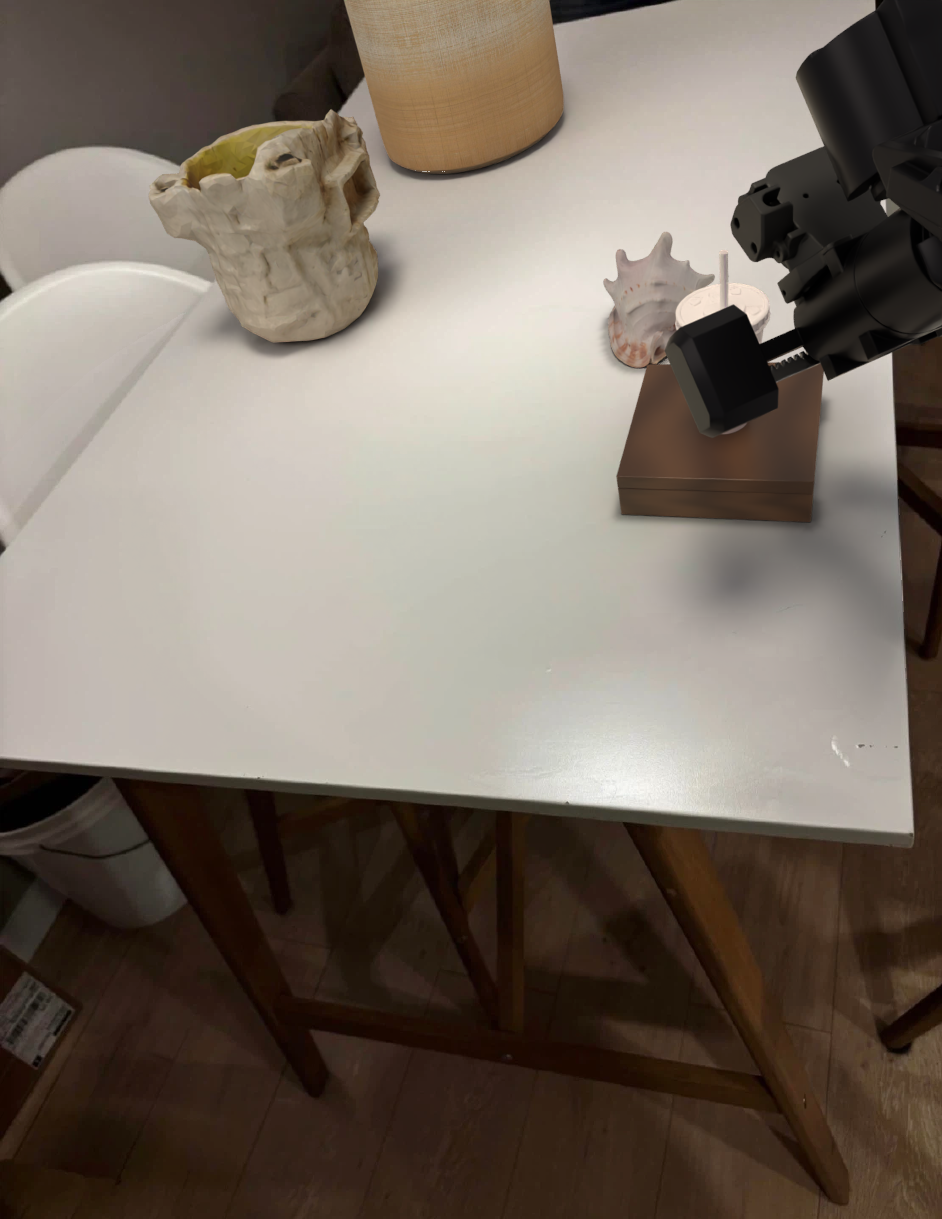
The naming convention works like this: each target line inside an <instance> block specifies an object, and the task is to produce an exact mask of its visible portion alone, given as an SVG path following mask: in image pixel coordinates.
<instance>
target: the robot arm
mask: <svg viewBox="0 0 942 1219" xmlns="http://www.w3.org/2000/svg"><path fill="white" fill-rule="evenodd" d="M795 81H796V82H797V85H798V87H799V90H800V92H801V95H802V97H803V100H804V102H805V105H806V106H807V109H808V111H809V113H810V116H811V118H812V121H813V123H814V126H815V128H816V130H817V133H818V135H819V137H820V139H821V142H822V144H823V146H821V147H818V148H816V149H813V150H811V151H809V152H806V153H804V154H802V155H799V156H797V157H794V158H792V159H789V160H787V161H785V162H782V163H780V164H777V165H775V166H773V167H772V168H770V169H768V171H767V173H766V174H765V177H763V178H761V179H759V180H757V181H754V182H752V183H751V184H750V187H749V190H748V191H747V192H746V193H744V194H742V195H739V196H738V198H737V205H736V206H735V208H734V211H733V214H732V217H731V221H730V226H729V227H730V230H731V235H732V236H733V238H734V240H735V241H736V242H737V244H738V245H739V247H740V248H741V249H742V251H743V252H744V254H745V255H746V257H747V258H748V260H749V261H751V262H752V263H759V262H762V261H763V260H766V259H772V260H774V261H775V262H776V263H777V264H780V265H782V266H783V267H784V268H785V269H787V270H788V273H787V274H786V275H785V276H784V277H782V278H781V279H780V280H779V281H778V282H777V283H776V284H777V286H778V289H779V291H780V293H781V296H782V298H783V301H784V303H785V304H787V305H788V304H791V303H793V302H794V305H795V307H794V309H793V316H792V317H793V319H792V320H793V326H794V328H793V329H791V330H788V331H786V332H783V333H782V334H779V335H776V336H774V337H772V338H770V339H768V340H765V341H762V343H761V344H759V342H758V339H757V337H756V335H755V332H754V330H753V328H752V325H751V323H750V321H749V318H748V316H747V314H746V313H745V312H743V311H742V310H741V309H739V308H738V307H737V306H735V305H734V304H733V305H731V306H729V307H726V308H724V309H722V310H719V311H717V312H715V313H712V314H710V315H708V316H705V317H703V318H701V319H698V320H696V321H694V322H691V323H689V324H687V325H685V326H682V327H680V328H679V329H678V330H677V331H676V332H675V333H674V334H673V335H672V336H670V337H669V340H668V342H667V345H666V348H665V350H664V351H665V353H666V356H665V357H666V358H667V360H668V364H670V365H671V367H672V370H673V372H674V374H675V376H676V379H677V381H678V383H679V386H680V388H681V390H682V393H683V395H684V397H685V400H686V402H687V404H688V406H689V409H690V411H691V413H692V416H693V418H694V420H695V423H696V425H697V427H698V430H699V432H700V433H701V434H704V435H706V436H709V437H711V438H714V437H716V436H718V435H721V434H723V433H725V432H727V431H730V430H732V429H734V428H736V427H739V426H741V425H743V424H745V423H748V422H750V421H752V420H754V419H756V418H758V417H761V416H763V415H765V414H767V413H769V412H771V411H773V410H775V409H777V408H778V395H779V388H778V386H777V384H776V383H777V382H780V381H782V380H784V379H786V378H789V377H791V376H793V375H795V374H798V373H800V372H802V371H804V370H807V369H809V368H811V367H814V366H816V365H818V364H821V366H822V368H823V371H824V376H825V377H826V380H827V381H828V382H829V381H832V380H833V379H836V378H838V377H840V376H842V375H845V374H847V373H849V372H851V371H853V370H856V369H859V368H860V367H862V366H866V365H867V364H870V363H872V362H873V361H876V360H878V359H881V358H883V357H885V356H887V355H890V354H892V353H894V352H896V351H899V350H901V349H903V348H905V347H908V346H913V345H914V346H918V345H922V344H924V343H926V342H929V341H932V340H933V339H936V338H941V337H942V0H883V1H882V2H881V3H880V4H879V6H878V7H877V8H876V9H875V10H873V11H871V12H870V13H869V14H867V15H865V16H864V17H862V18H860V19H858V20H857V21H855V22H854V23H852V24H851V25H850V26H848V27H847V28H845V29H844V30H843V31H841V32H840V33H839V34H837V35H835V37H834V38H832V39H831V40H830V41H829V42H827V43H826V44H824V46H823V47H820V48H818V49H816V50H814V51H811V53H809V54H808V55H807V56H806V58H805V59H804V60H803V61H802V63H801V64H800V66H799V67H798V69H797V71H796V75H795ZM888 199H889V200H890V201H891V202H892V203H893V204H895V205H896V206H897V207H899V208H897V209H896V210H894V211H893V212H892V213H891V214H890V215H888V214H887V212H886V210H885V208H884V206H882V204H881V202H882V201H886V200H888ZM801 348H803V350H802V351H800V352H799V353H796V354H794V355H793V356H789V357H787V358H784V359H782V360H781V361H776V362H777V363H775V367H774V366H773V365H770V366H769V365H768V362H772V361H773V360H776V359H778V358H781V357H783V356H785V355H788V354H790V353H792V352H795V351H797V350H799V349H801ZM779 362H781V364H780V363H779Z"/></svg>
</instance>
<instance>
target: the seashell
mask: <svg viewBox="0 0 942 1219" xmlns="http://www.w3.org/2000/svg"><path fill="white" fill-rule="evenodd" d="M673 242H674V240H673V236H672V234H671V233H670V232H668V231H663V232H662V233H661V235H660V236H659V238H658V240H657V242H656V243H655V245H654V247H653V248H652V249H651V251H650V253H649V254H648V255H647V256H645V257H643V258H640V259H637V260H629V259H628V256H627V253H626V251H625V250H624V249H622V248H618V249H617V250H616V251H615V263H616V272H617V277H616V279H615V280H610V279H608V278H604V279H603V282H602V283H603V287H604V289H605V291H606V292H607V293H608V295H609V296H610V298H611V299H612V301H613V304H614V306H613V307H612V310H611V311H610V312H609V314H608V318H607V326H608V327H607V328H608V336H609V341H610V348H611V351H612V352H613V354H614V355H615V357H616V358H617V359H618V360H619V361H621V362H622V363H623V364H625V365H627V366H629V367H632V368H636V369H640V368H644V367H645V368H646V367H647V365H655V364H658V363H659V362H660V361H662V360H663V359H665V358H666V357H667V356H666V353H665V351H664V350H665V348H666V345H667V342H668V340H669V337H670V336H672V335H673V334H674V333H675V332H676V331H677V330H676V326H675V322H676V309H677V306H678V305H679V303H680V302H681V301H682V300H683V299H684V298H685V297H686V296H687V295H689V294H691V293H692V292H694V291H696V290H698V289H701V288H703V287H707V286H710V285H712V283H714V281H715V279H716V276H715V274H713V273H710V274H704V273H703V274H702V273H700V272H697V271H696V270H695V269H693V268H692V267H691V263H690V260H687V259H686V260H678V259H675V258H674V257H673V256H672V254H671V253H672V248H673Z"/></svg>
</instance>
